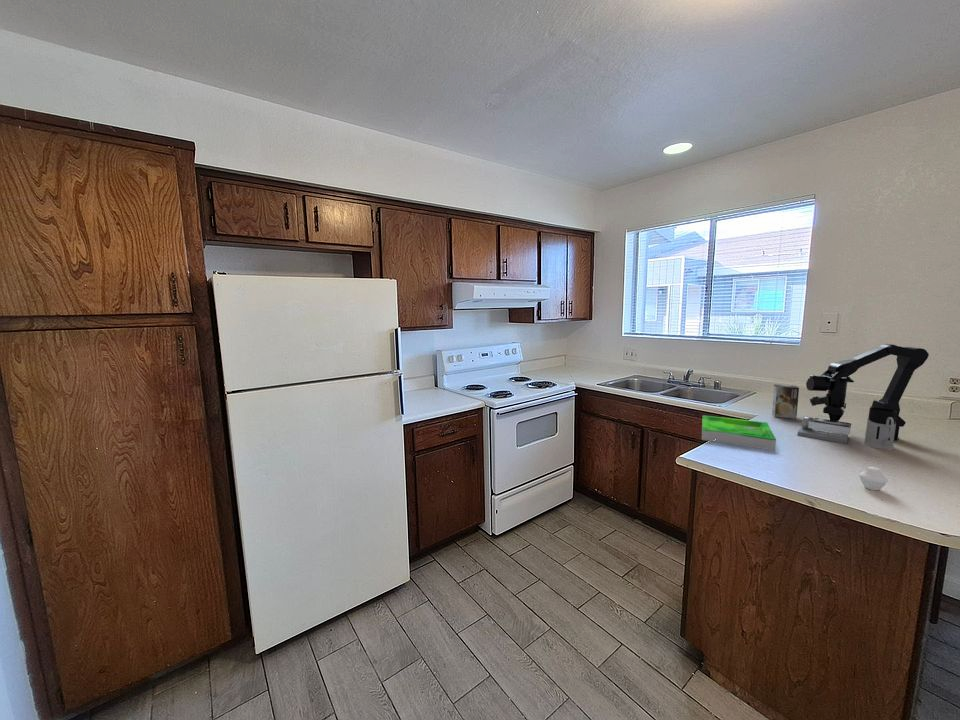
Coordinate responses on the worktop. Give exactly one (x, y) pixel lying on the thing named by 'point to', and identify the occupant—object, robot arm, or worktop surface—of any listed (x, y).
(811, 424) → the swing arm
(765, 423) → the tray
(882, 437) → the grey rounded piece
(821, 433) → the label board
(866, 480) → the white faceted lump
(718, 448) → the worktop surface
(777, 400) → the coffee box
